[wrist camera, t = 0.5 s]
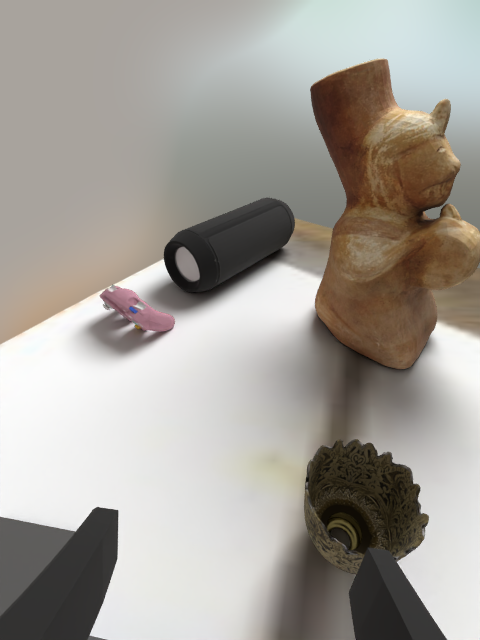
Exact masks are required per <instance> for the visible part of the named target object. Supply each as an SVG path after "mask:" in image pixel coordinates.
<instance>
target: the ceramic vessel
mask: <svg viewBox="0 0 480 640" xmlns="http://www.w3.org/2000/svg"><path fill="white" fill-rule="evenodd" d="M310 91H311V101H312V107H313V112H314V115H315V119H316V122H317V125H318V127H319V130H320V132H321V134H322V136H323V139H324V141H325V143H326V146H327V148H328V151H329V153H330V156H331V158H332V160H333V162H334V164H335V167H336V169H337V171H338V174H339V177H340V179H341V182H342V184H343V187H344V189H345V192H346V197H347V205H346V209H345V211H344V213H343V214H342V216H341V218H340V219H339V220H338V221H337V223H336V224H335V226H334V228H333V233H332V240H331V247H330V253H329V258H328V262H327V266H326V269H325V272H324V276H323V279H322V281H321V284H320V286H319V289H318V291H317V295H316V299H315V308H316V311H317V314H318V317H319V318H320V319H321V320H322V321H323V322H324V323H325V324H326V326H327V327H328V329H329V330H330V331H331V333H332V334H333V335H334V336H335V337H336V338H337V339H338V340H339V341H340V342H342V343H343V344H344V345H346V346H348V347H349V348H351V349H353V350H355V351H356V352H358V353H360V354H362V355H364V356H366V357H368V358H370V359H372V360H374V361H376V362H378V363H380V364H382V365H384V366H388V367H392V368H397V369H406V368H409V367H411V366H412V365H413V363H414V362H415V361H416V359H417V358H418V357H419V355H420V353H421V352H422V350H423V348H424V347H425V345H426V342H427V341H428V339H429V336H430V334H431V333H432V331H433V330H434V328H435V325H436V322H437V306H436V303H435V299H434V296H433V293H432V290H443V289H447V288H451V287H453V286H456V285H458V284H461V283H463V282H464V281H465V280H466V279H468V278H469V277H470V276H471V275H472V274H473V273H474V272H475V270H476V268H477V266H478V264H479V262H480V231H479V230H478V229H477V228H476V227H474V226H472V225H471V224H469V223H467V222H465V221H463V220H462V219H461V217H460V215H459V213H458V211H457V210H456V208H455V207H454V206H453V205H451V204H446V205H445V206H444V207H443V208H442V209H441V213H440V217H439V218H437V219H430V218H428V217H427V216H426V214H425V212H424V211H426V210H428V209H431V208H435V207H440V206H441V205H443V204H444V203H445V201H446V200H447V199H448V197H449V196H450V192H451V189H452V186H453V183H454V179H455V177H456V175H457V173H458V172H459V170H460V165H461V164H460V161H459V160H458V159H457V158H456V157H455V156H454V154H453V152H452V150H451V147H450V145H449V143H448V141H447V139H446V137H445V135H444V133H445V130H446V127H447V124H448V121H449V117H450V110H451V104H450V101H449V100H448V99H444V100H442V101H440V102H439V103H438V104H437V105H436V107H435V109H434V110H433V112H431V113H430V114H427V113H425V112H422V111H408V110H403V109H401V108H400V107H398V105H397V103H396V102H395V99H394V96H393V93H392V88H391V80H390V71H389V66H388V60H387V59H375V60H371V61H368V62H364V63H361V64H358V65H355V66H352V67H349V68H346V69H343V70H340V71H337V72H335V73H333V74H330V75H328V76H326V77H325V78H323V79H321V80H319V81H317V82H315V83H314V84H313V85H312V86H311V89H310Z"/></svg>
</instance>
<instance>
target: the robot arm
mask: <svg viewBox="0 0 480 640" xmlns="http://www.w3.org/2000/svg"><path fill="white" fill-rule="evenodd" d="M117 552H118V510H113V509H106V508H100V507H97V508H95V509H93V510H92V512H91V513H90V514H89V516H88V517H87V518H86V520H85V521H84V522H83V523H82V525H81V526H80V527H79V528H78V530H77V531H76V532H75V533H74V535H73V536H72V537H71V538H70V539H69V541H68V542H67V543H66V544H65V545H64V547H63V548H62V549H61V550H60V551H59V552H58V554H57V555H56V556H55V557H54V558H53V559H52V561H51V562H50V563H49V564H48V565H47V566H46V567H45V568H44V570H43V571H42V572H41V573H40V574H39V575H38V576H37V577H36V579H35V580H34V581H33V582H32V583H31V584H30V585H29V586H28V588H27V589H26V590H25V591H24V592H23V593H22V594H21V595H20V596H19V597H18V598H17V599H16V600H15V601H14V602H13V604H12V605H11V606H10V607H9V608H8V609H7V610H6V611H5V612H4V613H3V614H2V615H1V616H0V640H88V637H89V635H90V632H91V630H92V628H93V625H94V623H95V620H96V618H97V616H98V613H99V611H100V608H101V606H102V604H103V601H104V598H105V595H106V592H107V589H108V586H109V583H110V580H111V577H112V574H113V571H114V567H115V564H116V561H117ZM349 597H350V604H351V611H352V619H353V625H354V632H355V638H356V640H447V639H446V637H445V636H444V634H443V633H442V631H441V630H440V629H439V627H438V625H437V624H436V622H435V621H434V619H433V618H432V616H431V615H430V613H429V612H428V610H427V609H426V607H425V606H424V604H423V603H422V601H421V600H420V598H419V596H418V595H417V593H416V592H415V590H414V589H413V587H412V586H411V584H410V582H409V581H408V579H407V578H406V576H405V575H404V573H403V571H402V570H401V568H400V567H399V565H398V564H397V562H396V560H395V559H394V557H393V556H392V554H391V553H390V551H389V550H382V549H376V548H369V547H368V548H367V550H366V553H365V555H364V558H363V560H362V562H361V565H360V567H359V570H358V572H357V574H356V577H355V579H354V582H353V584H352V586H351V589H350V591H349Z"/></svg>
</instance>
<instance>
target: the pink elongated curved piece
mask: <svg viewBox="0 0 480 640" xmlns="http://www.w3.org/2000/svg"><path fill="white" fill-rule="evenodd" d="M100 297H101V298H102V299H103V301H104V302H105V305H106V306H105V305H104V304H103V306H104V308H105V309H107V310H110V309H109V308H113V309H115V310H116V311H118V312H119V313H120V314H121V315H122V316H124V317H125V318H126V319H128V320H129V321H132V322H133V323H134V324H136V325H135V328H137V329H140V328H141V329H142V330H144V331H146V330H152V331H167V330H170V329H171V328H173V326H174V324H175V319H174V317H173V316H171V315H169V314H166V313H162V312H158V311H156V310H155V309H153V308H152V307H150V306H149V305H148V304H147V303H146V302H144V301H143V300H141V299H140V298H139V297H138V295H137V294H136V293H135V292H133V291H132V290H129V289H123V288H120V287H118V286H114V285H112V287H110V288H108V289H106V290H105V291H104V292H103V293H102V294H101V295H100Z"/></svg>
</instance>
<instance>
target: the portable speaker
mask: <svg viewBox="0 0 480 640" xmlns="http://www.w3.org/2000/svg"><path fill="white" fill-rule="evenodd" d="M294 227H295V220H294V216H293V213H292V211H291V209H290V208H289V206H288V205H287V204H286V203H284V202H282V201H280V200H276V199H272V198H263V199H260V200H258V201H256V202H253V203H250V204H248V205H245V206H243V207H240V208H238V209H235V210H233V211H230V212H228V213H225V214H223V215H220V216H218V217H215V218H213V219H210V220H208V221H205V222H203V223H200V224H197V225H195V226H192V227H190V228H188V229H185V230H182V231H180V232H178V233H177V234H176V235H175V236H174V237H173V238H172V239H171V240H170V242H169V243H168V244H167V245H166V247H165V250H164V262H165V266H166V268H167V271H168V273H169V275H170V277H171V278H172V280H173V281H174V282H175V283H176V284H177V285H178V286H179V287H180V288H181V289H183V290H185V291H187V292H201V291H208V290H210V289H211V288H213V287H215V286H217V285H219V284H221V283H222V282H224V281H226V280H227V279H229V278H231V277H232V276H234V275H236V274H237V273H239V272H241V271H243V270H244V269H246V268H248V267H249V266H251V265H253V264H254V263H256V262H258V261H260V260H261V259H263V258H265V257H266V256H268V255H270V254H271V253H273V252H275V251H277V250H278V249H280V248H282V247H283V246H284V245H286V244H287V242H288V241H289V239H290V237H291V235H292V233H293V231H294Z"/></svg>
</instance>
